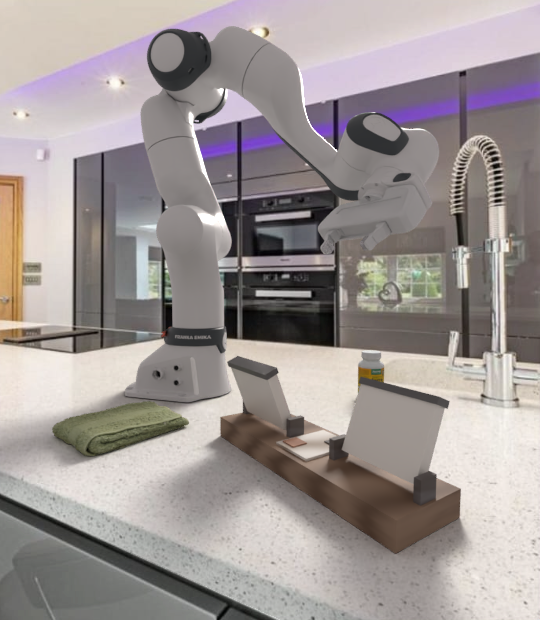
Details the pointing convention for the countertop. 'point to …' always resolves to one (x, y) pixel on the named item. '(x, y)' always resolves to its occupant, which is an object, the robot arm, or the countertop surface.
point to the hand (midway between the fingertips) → (343, 249)
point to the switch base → (346, 479)
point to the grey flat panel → (394, 428)
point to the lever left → (261, 390)
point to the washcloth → (117, 427)
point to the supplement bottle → (371, 366)
